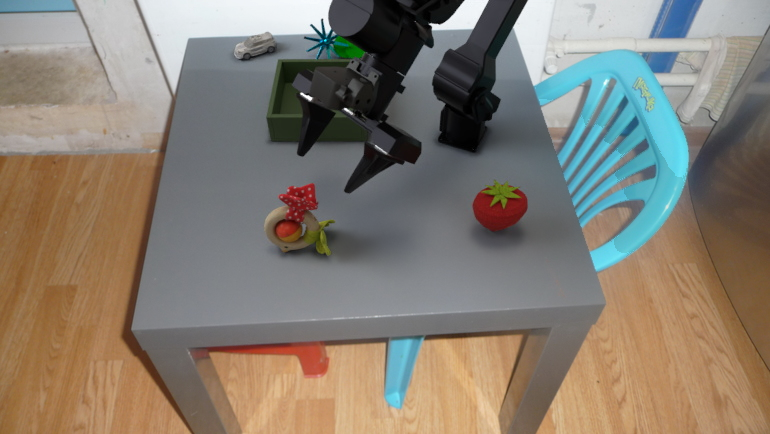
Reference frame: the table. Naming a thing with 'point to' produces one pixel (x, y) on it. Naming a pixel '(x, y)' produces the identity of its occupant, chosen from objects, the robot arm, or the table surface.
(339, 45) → the stick construction toy
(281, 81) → the bin
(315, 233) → the bird rattle
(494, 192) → the strawberry
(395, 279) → the table surface
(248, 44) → the toy car
